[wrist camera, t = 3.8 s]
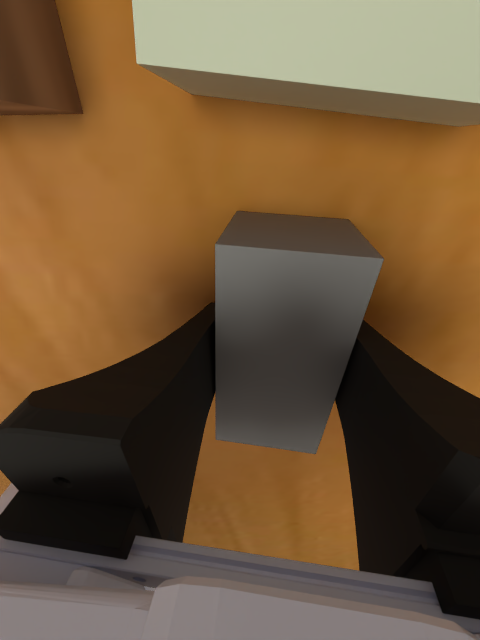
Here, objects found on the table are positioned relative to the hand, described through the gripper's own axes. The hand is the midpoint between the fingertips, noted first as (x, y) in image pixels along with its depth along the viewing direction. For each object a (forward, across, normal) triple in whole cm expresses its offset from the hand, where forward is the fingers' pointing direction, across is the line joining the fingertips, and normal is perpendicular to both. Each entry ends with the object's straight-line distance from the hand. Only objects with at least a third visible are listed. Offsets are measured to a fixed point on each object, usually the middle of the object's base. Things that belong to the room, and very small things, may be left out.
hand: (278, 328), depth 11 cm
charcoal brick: (+1, 0, 0) cm, 1 cm away
